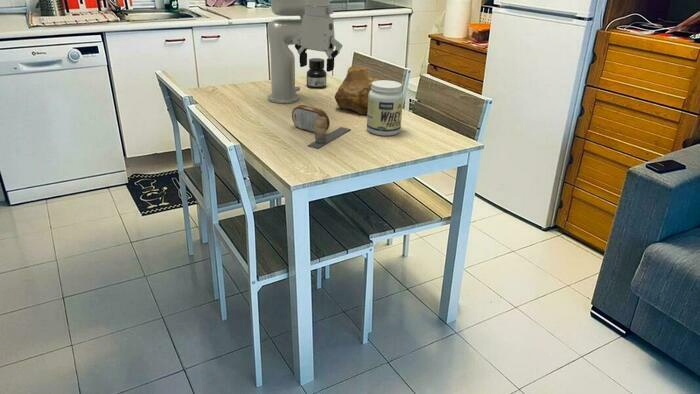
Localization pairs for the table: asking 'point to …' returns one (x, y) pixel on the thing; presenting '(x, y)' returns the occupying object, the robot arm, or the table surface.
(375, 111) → the supplement tub
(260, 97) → the table surface
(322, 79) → the ink bottle
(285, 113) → the table surface
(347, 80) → the rough brown rock
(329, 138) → the strip
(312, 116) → the tin
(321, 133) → the tan and grey cylinder
